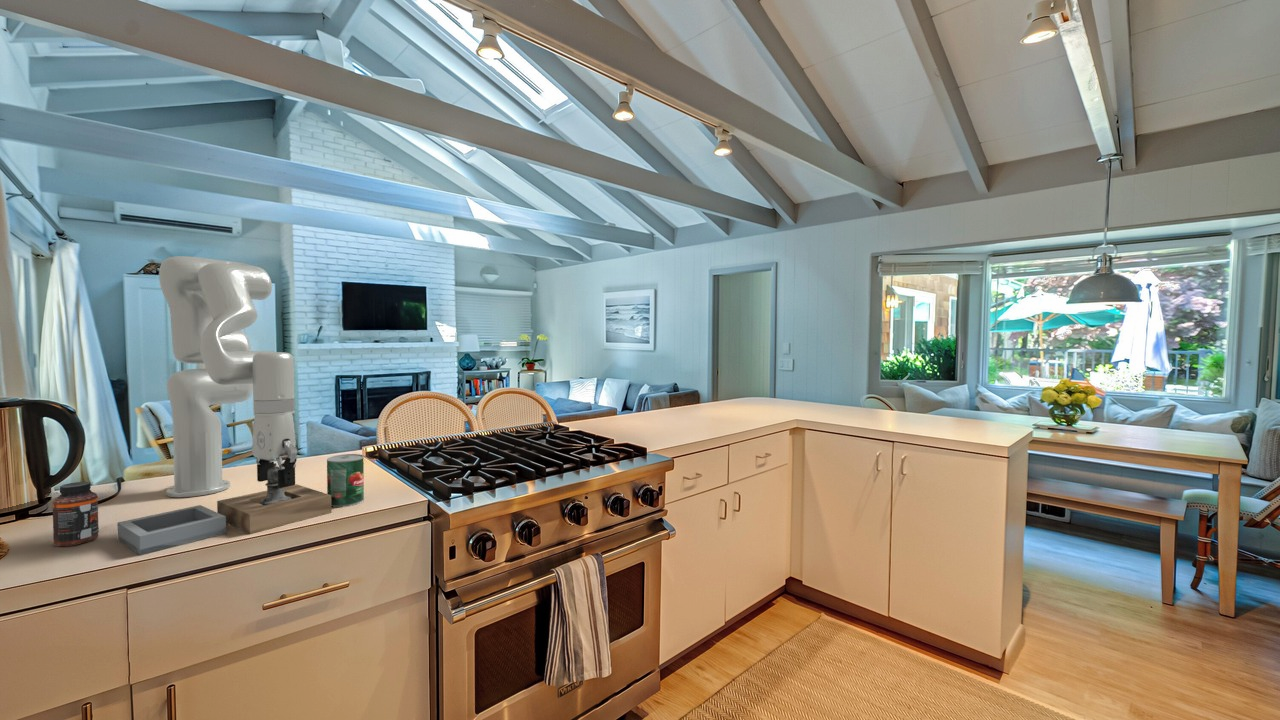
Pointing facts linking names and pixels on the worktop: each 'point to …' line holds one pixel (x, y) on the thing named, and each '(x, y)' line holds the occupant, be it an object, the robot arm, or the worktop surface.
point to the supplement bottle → (75, 515)
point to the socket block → (273, 509)
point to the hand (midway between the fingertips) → (276, 483)
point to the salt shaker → (273, 488)
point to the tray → (170, 529)
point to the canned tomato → (345, 479)
